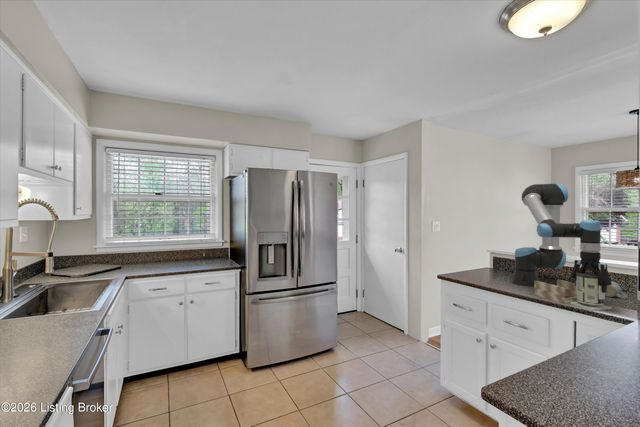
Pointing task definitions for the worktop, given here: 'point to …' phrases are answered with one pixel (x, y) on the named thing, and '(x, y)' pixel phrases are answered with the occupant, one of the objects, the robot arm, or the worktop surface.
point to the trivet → (591, 306)
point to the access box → (556, 291)
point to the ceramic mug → (615, 291)
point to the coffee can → (588, 289)
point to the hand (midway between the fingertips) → (590, 295)
